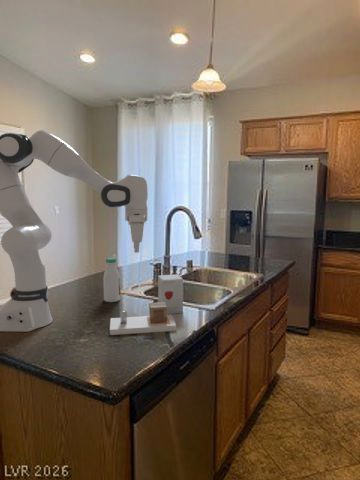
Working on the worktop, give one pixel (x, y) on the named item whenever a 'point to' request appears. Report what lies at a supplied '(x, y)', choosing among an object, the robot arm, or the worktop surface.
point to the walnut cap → (158, 312)
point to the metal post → (123, 317)
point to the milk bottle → (111, 281)
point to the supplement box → (171, 292)
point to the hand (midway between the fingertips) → (136, 250)
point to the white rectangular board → (139, 326)
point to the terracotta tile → (157, 323)
